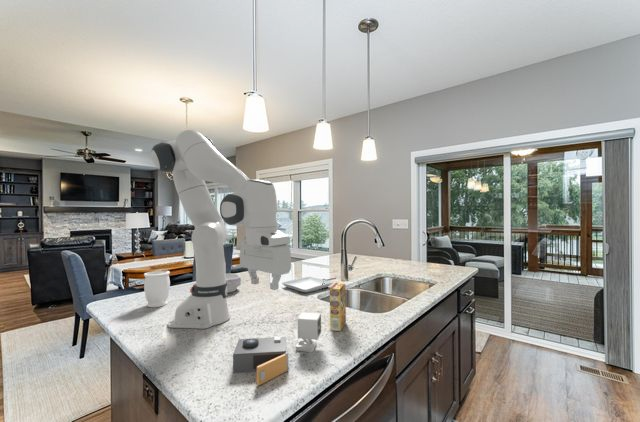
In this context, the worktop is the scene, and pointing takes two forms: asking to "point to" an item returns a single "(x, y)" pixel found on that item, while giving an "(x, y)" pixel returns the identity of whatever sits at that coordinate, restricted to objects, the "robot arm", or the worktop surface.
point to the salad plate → (307, 284)
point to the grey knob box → (256, 352)
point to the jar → (157, 288)
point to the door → (272, 368)
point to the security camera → (308, 331)
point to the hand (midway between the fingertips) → (264, 286)
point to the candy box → (337, 307)
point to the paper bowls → (232, 282)
